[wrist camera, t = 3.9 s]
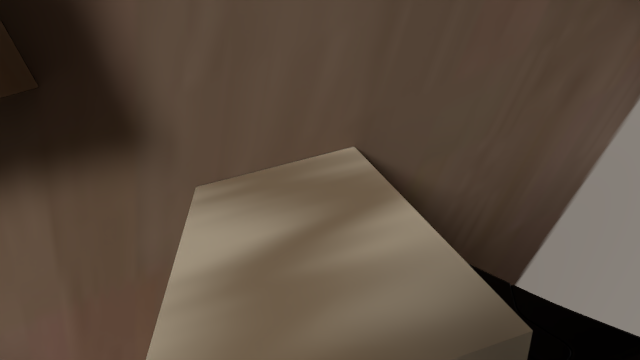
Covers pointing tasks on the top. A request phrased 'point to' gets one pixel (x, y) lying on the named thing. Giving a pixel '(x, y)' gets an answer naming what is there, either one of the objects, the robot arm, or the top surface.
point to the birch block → (324, 275)
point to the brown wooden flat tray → (12, 68)
